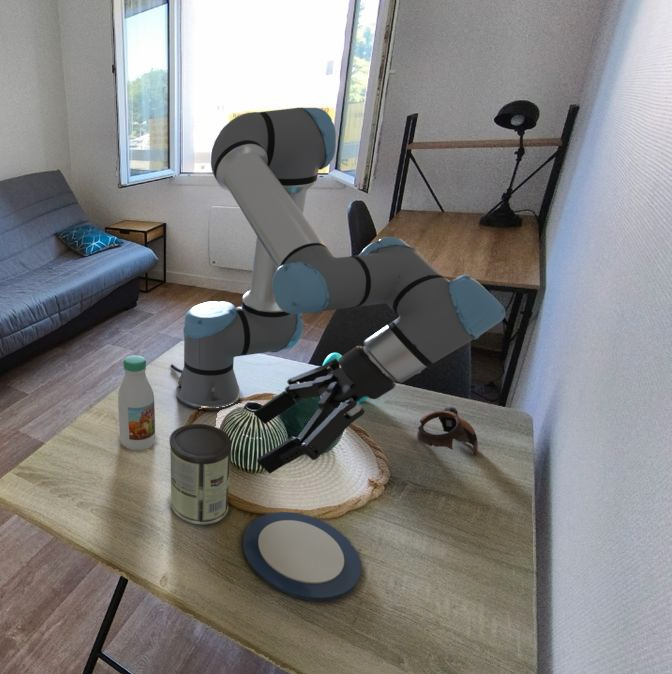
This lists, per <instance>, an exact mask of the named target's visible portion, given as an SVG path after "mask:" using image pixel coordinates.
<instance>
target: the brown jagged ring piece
mask: <svg viewBox="0 0 672 674" xmlns="http://www.w3.org/2000/svg"><path fill="white" fill-rule="evenodd" d="M458 413H459V412H458V410H457V409H456V408H455V407H453V406H447V407H444V408H443V409H442V410H436V411H433V412H429V413H427V414H425V415H424V416H423V417H421V419H420V420H419V423H420V425H419V426H418V427H417V428H418V430H417V433H416V436H417V440H418V441H419V442H421V443H423V444H424V445H427V446H429V447H441V448H442V447H444V448H447V449H449V450H453V449H454V448H453V442H454V440H455V441H457V442H463V443H468V444H470V445H472V450H473V456H477V455H478V452H479V451H478V448H479V446H478V445H479V444H478V436H477V434H476V432H475V429H474V428H473V426H472V425H471V424H470V423H469V422H468V421H467V420H465V419H464V418H463V417H460V416H459V414H458ZM437 418H438V420H439V422H440V423H441V427H442V429H443V430H442V431H443V432H444V433H440V434H438V433H437V434H435V433H430V432H428V431H426V430H425V428H424V427H425V425H426V424H427V423H428V422H430V421H432V420H434V419H437Z"/></svg>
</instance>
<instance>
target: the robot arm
mask: <svg viewBox="0 0 672 674" xmlns="http://www.w3.org/2000/svg"><path fill="white" fill-rule="evenodd" d="M337 142H338V141H337V131H336V126H335V124H334V122H333V119H332V117H331V116H330V114H328V112H327V111H326V110H324V109H322V108H320V107H302V106H301V107H292V108H283V109H282V108H281V109H275V110H273V109H272V110H265V111H257V112H256V111H252V112H246V113H243V114H240V115H238V116H236V117H234V118H232V119H231V120H229V121H228V122H227V123H226V124H225V125H224V126H223V127H222V128H221V129H220V131H218V134H216V137H215V139H214V141H213V143H212V146H211V150H210V156H209V157H210V158H209V159H210V167H211V169H210V170H211V171H212V174H213V176H214V178H215V181H216V182H217V183H218V185H219V186H220V187H221V188H222V189H223V190H225V191H227V192H229V193H230V194H231V196H232V197H233V199H234V200H235V202H236V204H237V205H238V207H239V209H240V210H241V212H242V214H243V216H244V217H245V219H246V221H247V222H248V223H249V225H250V227H251V228H252V230H253V233H255V235H256V241H255V249H254V257H253V265H252V273H251V281H250V290H248V291H247V292H245V293H244V294H243V296H242V299H241V305H240V306H237V307H236V305H234V304H233V303H231V302H228V301H222V300H221V301H217V300H215V301H214V300H213V301H206V302H203V303H199V304H197V305H194V306H193V307H191V308H190V309H189V310H188V311H187V312H186V314H185V316H184V326H183V351H184V352H183V368H182V369H181V368H179V367H177V366H176V365H174V364H173V363H171V364H170V368H171V369H173V370H174V371H175V372H177V373H180V376H179V378H178V382H177V384H176V392H175V393H176V398H177V399H178V400H179V402H180V403H182V405H185V406H186V407H189V408H190V409H194V410H198V409H199V408H201V406H209V407H213V408H202V409H200V410H199V411H207V412H215V411H216V412H217V411H222V410H227V409H230V408H232V407H234V406H236V405H237V403H238V402H239V400H240V397H241V396H240V394H241V391H240V385H239V383H238V380H237V376H236V373H235V370H234V360H235V358H237V357H243V356H252V355H257V354H265V353H266V354H267V353H278V352H280V351H286V350H289V349H291V348H293V347H295V346H296V345H297V343H298V342H299V341H300V339H301V336H302V333H303V330H304V320H303V319H302V318H303V314H317V313H318V314H319V313H321V312H327V311H334V310H341V309H349V308H361V307H367V306H374V305H375V306H376V305H382V304H384V305H385V304H386V305H387V306H388V307H389V308H390V309H391V310H392V311H393V313H395V315H396V316H397V318H396V319H394V320H393V321H392V322H390V323H389V324H386V325H385V326H384V327H382V328H381V329H379V330H378V331H376V332H374V334H372V335H370V336H369V337H367V338H366V339H364V341H363V346H362V345H356V346H355V347H353V348H351V349H350V350H349V351H347V352H346V353H344V354H343V355H342V357H340V359H339V361H338V360H337V359H333V360H331V361H330V362H328V363H327V364H325V365H323V364H322V365H323V366H322V365H321V366H318V367H315V368H313V369H310V370H308V371H304V372H303V373H300V374H297V375H295V376H292V377H290V378H288V379H287V381H286V383H287V384H288V385H286V386H285V388H284V390H283V391H282V392H280V393H279V394H277V395H276V396H275V397H273V398H272V399H270V400H269V401H267V402H266V403H264V404H263V405H261V406H259V407H258V408H257V409H256V410H254V411H253V415H254V416H255V417H256V418H258V420H259V421H261V422H262V423H263V425H266V424H267V423H269V422H270V421H272V420H273V419H275V418H277V417H278V416H279V415H281V414H283V413H284V412H286V411H287V410H289V409H290V408H292V407H293V406H296V402H297V403H300V402H301V400H304V399H311V398H312V399H313V398H319V399H320V400H319V402H318V403H317V406H318V408H317V410H316V411H315V413H314V414H313V415H312V416H311V418H310V419H309V421H308V422H307V423H306V424H305V426H304V428H302V430H301V432H300V433H299V434H298V435H297V437H296V436H290V438H288V439H287V440H285V441H283V442H282V443H280V444H279V445H277V446H275V447H274V448H272V449H270V450H269V451H268V452H266V453H264V454H263V455H261V456H259V457H258V458H257V459H256V463H257V464H259V465H260V466H261V467H262V468H263V469H264V470H265V471H266V472H267V473H268V474H272V473H273V472H275V471H277V470H279V469H280V468H282V467H284V466H285V465H287V464H290V463H291V462H293V461H295V460H297V459H298V458H300V457H301V456H303V455H306V456H307V457H309V459H311V460H312V461H316V460H317V459H318V458H319V457H320V456H321V455H322V454H323V453H324V452H325V451H326V450H327V449H328V448H329V447H330V446H332V444H333V443H334V442H335V441H336V440H337V438H339V437H340V436H341V435H342V433H343V432H344V431H346V429H347V428H348V427H350V425H351V424H352V423H354V422H355V421H356V420H358V419H360V418H361V417H362V416H363V415H364V414H365V413H366V410H365V408H363V407H362V406H361V405H360V404H359V402H358V401H359V400H360V399H361V398H362V397H368V398H369V399H371V400H377V399H379V398H381V397H382V396H383V395H385V394H387V393H389V392H390V391H392V390H394V389H395V388H396V385H397V383H396V382H398V383H401V384H403V383H404V382H406V381H407V380H409V379H410V378H412V377H414V376H416V375H419V374H420V373H422V371H423V370H425V369H427V368H428V367H430V366H431V365H434V364H435V363H436V362H438V361H440V360H442V359H443V358H444V357H445V358H446V356H448V355H450V354H452V353H453V352H455V351H456V350H459V349H460V348H462V347H463V346H465V345H467V344H469V343H470V342H472V341H475V340H477V339H479V338H480V336H482V335H483V334H484V333H486V332H487V331H489V330H491V329H492V328H494V327H495V326H496V325H498V324H499V323H500V322H502V321H503V320H504V319H505V317H506V309H505V308H504V306H503V305H502V303H500V301H498V299H497V298H496V297H495V296H494V295H493V294H492V293H490V291H488V289H486V288H485V287H484V286H483V285H482V283H480V282H479V281H477V280H476V279H474V278H473V277H472V276H471V275H468V274H462V275H459V276H456V278H453V279H451V280H450V279H448V278H446V277H445V276H444V275H443V274H442V273H441V272H440V271H439V270H437V269H436V267H434V266H433V265H432V264H431V263H430V262H429V261H428V260H427V259H426V258H425V257H424V256H423V255H422V254H421V253H420V251H419V250H417V249H416V248H415V247H412V246H411V245H409V243H407V242H406V241H404V240H403V239H401V238H399V237H395V236H386V237H382V238H380V239H379V240H378V241H375V242H371V243H369V244H368V245H367V246H366V247H365V248H363V250H362V251H361V252H360V254H359V255H357V254H356V255H350V256H342V257H341V256H339V257H335V256H334V254H333V253H332V252H331V250H329V249H330V248H328V247H327V246H326V244H325V243H324V242H323V240H322V239H321V237H320V236H319V234H318V233H317V232H316V230H315V229H314V227H313V226H312V225H311V224H310V222H309V220H307V218H306V216H305V215H304V209H305V203H306V198H307V192H308V190H309V188H311V187H312V186H314V185H315V184H316V183H317V181H318V175H319V171H320V170H323V169H324V168H327V167H328V166H329V165H330V164H331V162H332V161H333V160H334V157H335V155H336V151H337ZM237 399H238V400H237ZM236 400H237V401H236ZM235 401H236V402H235ZM233 402H234V403H233ZM231 403H233V404H231ZM229 404H231V405H229ZM226 405H228V406H226ZM222 406H225V407H222ZM214 407H215V408H214ZM216 407H219V408H216Z"/></svg>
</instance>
